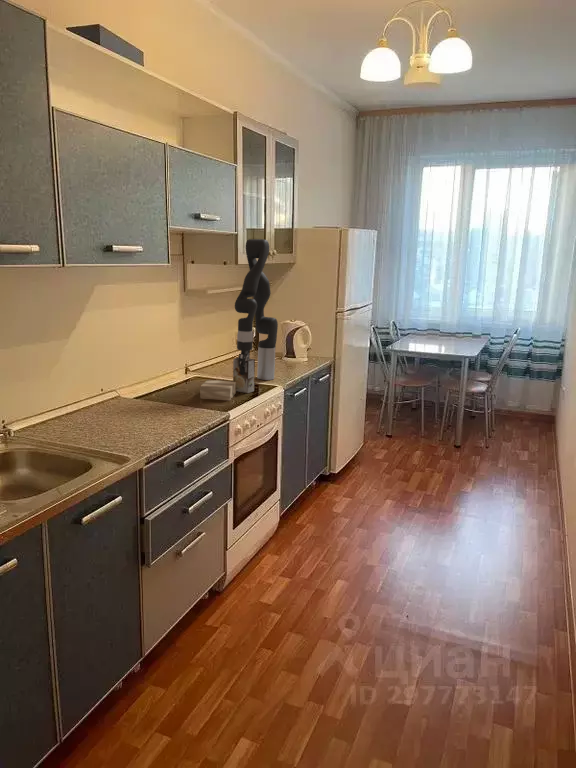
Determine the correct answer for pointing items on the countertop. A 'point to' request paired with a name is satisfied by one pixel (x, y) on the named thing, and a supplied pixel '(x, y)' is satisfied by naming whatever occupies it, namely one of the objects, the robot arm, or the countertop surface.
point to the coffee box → (247, 380)
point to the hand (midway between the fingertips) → (243, 372)
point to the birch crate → (218, 390)
